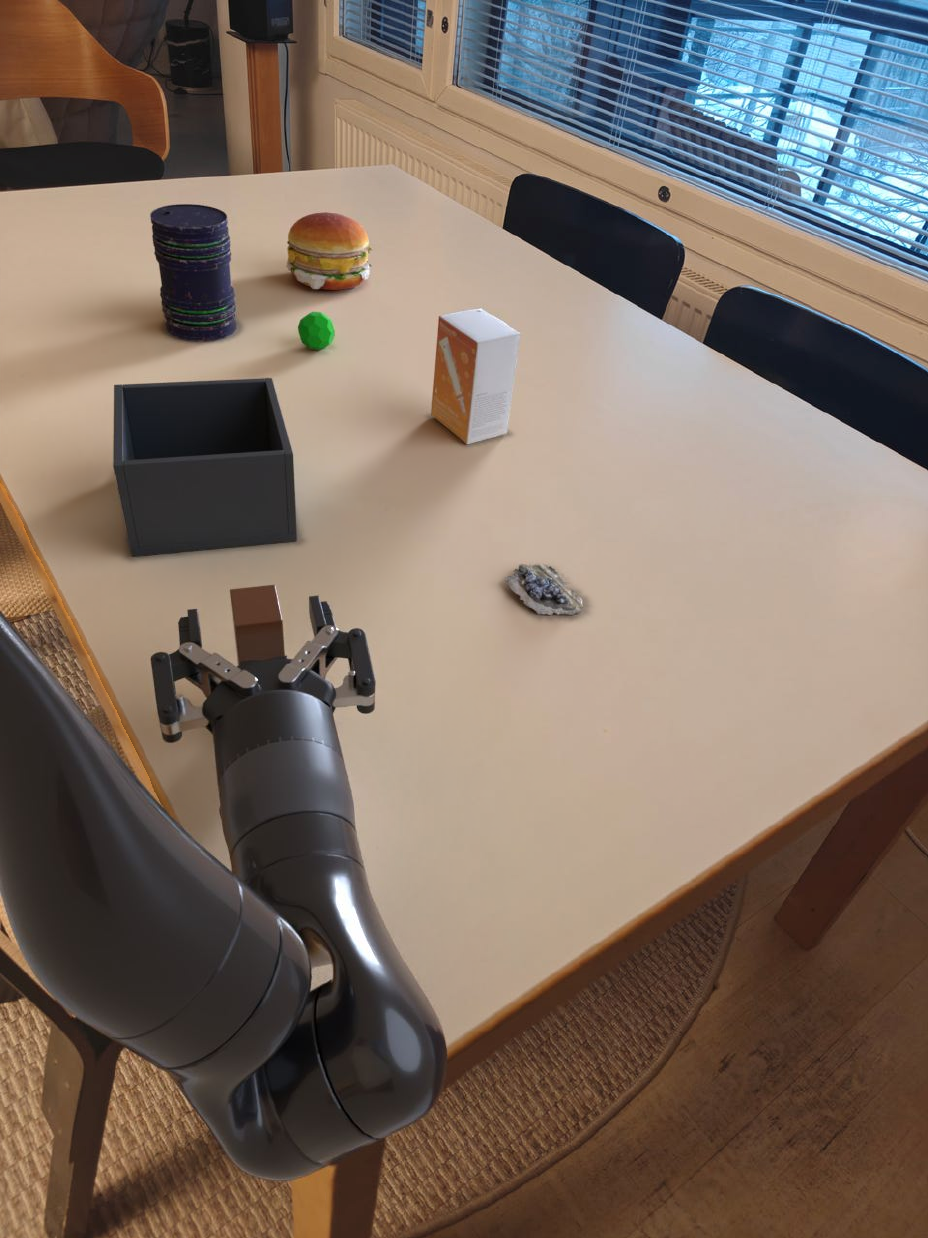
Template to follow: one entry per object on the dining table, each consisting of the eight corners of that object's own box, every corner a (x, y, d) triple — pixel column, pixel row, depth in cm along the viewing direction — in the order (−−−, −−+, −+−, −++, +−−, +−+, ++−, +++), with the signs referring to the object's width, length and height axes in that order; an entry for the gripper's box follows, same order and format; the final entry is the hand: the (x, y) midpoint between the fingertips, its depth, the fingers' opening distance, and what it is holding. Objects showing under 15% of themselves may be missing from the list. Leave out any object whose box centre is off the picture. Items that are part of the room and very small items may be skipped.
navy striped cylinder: (246, 318, 125) (238, 209, 115) (225, 345, 118) (214, 231, 108) (178, 309, 125) (164, 199, 116) (153, 336, 118) (136, 221, 108)
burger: (381, 274, 143) (383, 211, 137) (353, 302, 133) (354, 235, 127) (305, 260, 145) (304, 197, 139) (272, 287, 135) (269, 220, 129)
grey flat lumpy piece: (529, 560, 87) (532, 545, 86) (598, 593, 84) (602, 578, 83) (493, 592, 83) (495, 576, 81) (564, 628, 79) (568, 613, 78)
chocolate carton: (247, 742, 66) (234, 625, 58) (242, 705, 69) (229, 588, 61) (289, 736, 67) (282, 620, 59) (282, 699, 70) (275, 583, 62)
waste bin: (131, 557, 82) (113, 465, 75) (130, 470, 93) (114, 384, 86) (297, 541, 86) (293, 453, 79) (276, 460, 97) (272, 377, 90)
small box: (429, 416, 108) (437, 314, 99) (470, 406, 111) (481, 306, 102) (466, 445, 103) (477, 341, 95) (508, 434, 106) (522, 332, 98)
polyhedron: (296, 340, 121) (294, 307, 118) (330, 339, 122) (330, 306, 119) (302, 356, 117) (301, 321, 114) (337, 354, 119) (337, 320, 116)
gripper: (404, 725, 50) (351, 559, 62) (148, 765, 47) (143, 581, 58) (398, 803, 55) (351, 636, 67) (166, 845, 52) (158, 660, 63)
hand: (254, 611), depth 62 cm, fingers open, 8 cm apart
